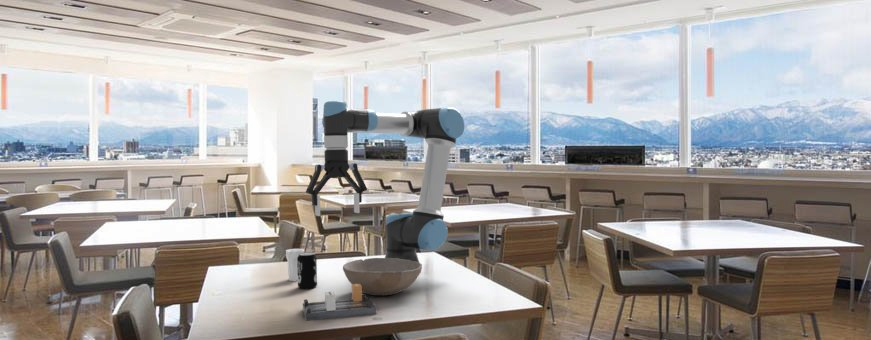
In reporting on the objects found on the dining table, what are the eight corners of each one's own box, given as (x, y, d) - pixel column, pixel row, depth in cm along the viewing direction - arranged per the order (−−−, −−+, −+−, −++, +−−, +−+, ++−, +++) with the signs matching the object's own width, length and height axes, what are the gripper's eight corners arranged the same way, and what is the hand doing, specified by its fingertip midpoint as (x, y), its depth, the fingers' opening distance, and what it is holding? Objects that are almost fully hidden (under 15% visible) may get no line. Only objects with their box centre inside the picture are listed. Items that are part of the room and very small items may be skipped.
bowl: (402, 281, 216) (402, 254, 216) (436, 297, 192) (435, 266, 192) (332, 290, 204) (331, 261, 204) (359, 307, 180) (358, 275, 180)
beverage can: (312, 289, 205) (311, 255, 204) (294, 289, 206) (293, 254, 206) (320, 285, 211) (319, 251, 211) (302, 285, 212) (301, 251, 212)
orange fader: (359, 298, 184) (359, 283, 183) (362, 300, 180) (361, 285, 180) (351, 298, 183) (351, 283, 183) (353, 301, 179) (353, 286, 179)
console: (368, 304, 185) (368, 293, 184) (376, 314, 173) (376, 303, 173) (302, 309, 179) (302, 299, 179) (306, 320, 167) (306, 309, 167)
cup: (291, 282, 217) (291, 252, 217) (283, 279, 222) (282, 250, 222) (308, 279, 222) (307, 250, 221) (299, 276, 227) (298, 248, 226)
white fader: (333, 307, 173) (333, 291, 173) (335, 310, 170) (335, 294, 170) (325, 307, 172) (324, 292, 172) (326, 311, 169) (326, 294, 169)
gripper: (366, 148, 203) (367, 210, 204) (295, 149, 190) (296, 216, 191) (375, 148, 197) (377, 212, 198) (302, 149, 184) (304, 218, 185)
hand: (337, 214), depth 194 cm, fingers open, 13 cm apart
